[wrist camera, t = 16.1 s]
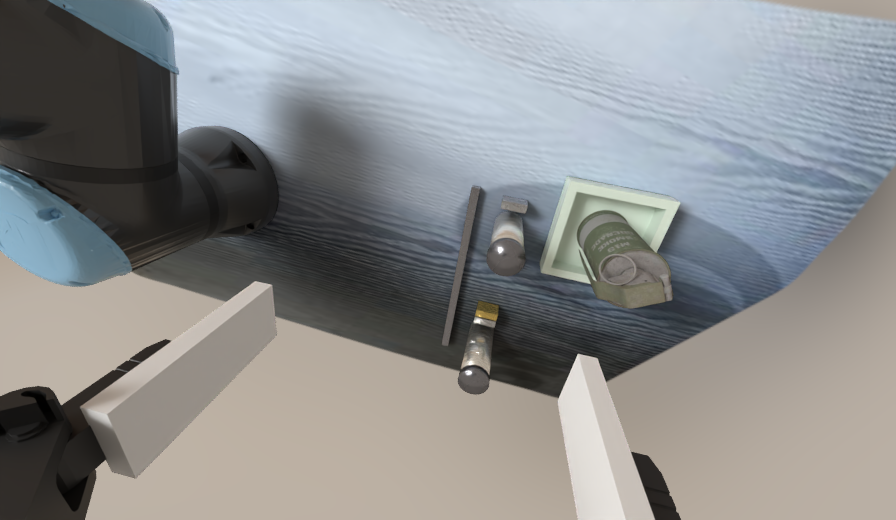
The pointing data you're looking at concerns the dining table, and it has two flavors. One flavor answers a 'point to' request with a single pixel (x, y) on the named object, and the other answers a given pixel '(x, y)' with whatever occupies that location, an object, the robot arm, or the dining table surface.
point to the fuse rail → (503, 261)
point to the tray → (586, 197)
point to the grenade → (622, 262)
